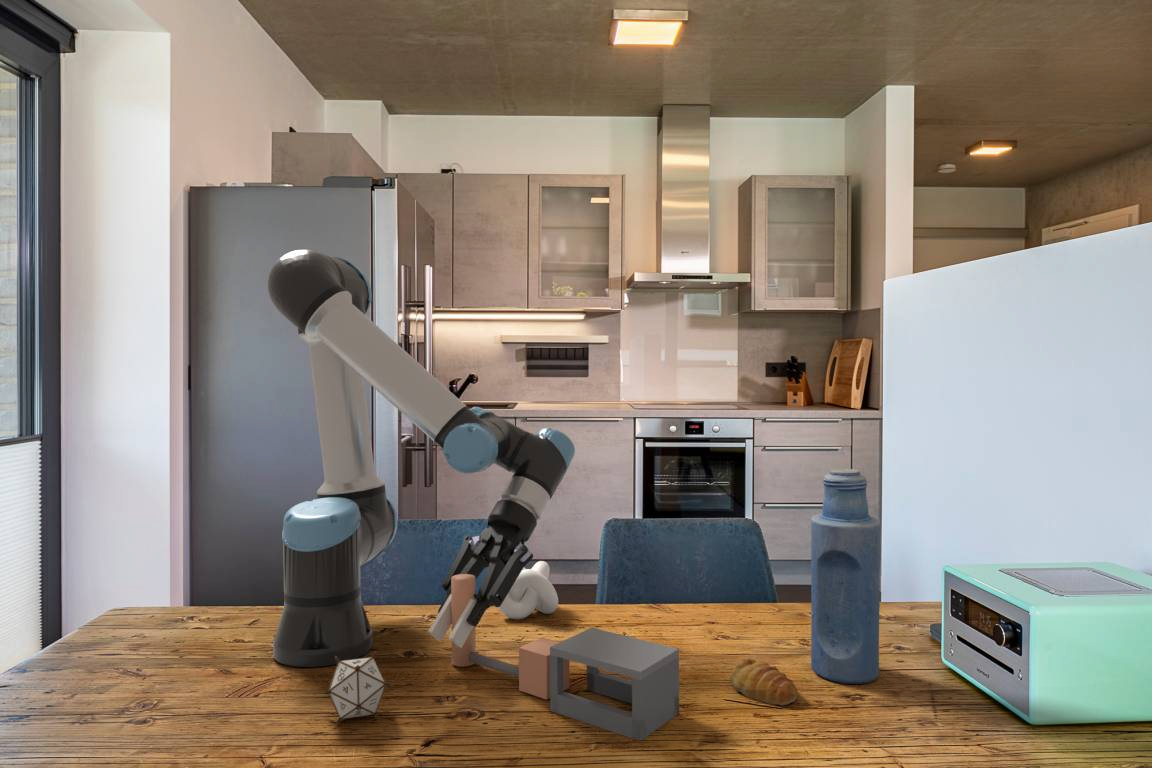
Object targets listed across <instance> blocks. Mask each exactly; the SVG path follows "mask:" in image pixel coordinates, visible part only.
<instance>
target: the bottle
mask: <svg viewBox="0 0 1152 768" xmlns="http://www.w3.org/2000/svg"><path fill="white" fill-rule="evenodd" d="M822 481H823V501H822V510H821V511H822V512H820V513H818V514H815V515H813V516H811V519H810V521H811V523H810V528H811V529H810V531H811V533H810V534H811V535H810V562H811V563H810V566H811V567H810V568H811V569H810V570H811V571H810V578H811V582H810V583H811V586H810V587H811V590H810V591H811V592H810V593H811V597H810V598H811V600H810V601H811V603H810V604H811V609H810V610H811V612H810V614H811V615H810V616H811V618H810V619H811V620H810V621H811V622H810V623H811V633H810V634H811V635H810V640H811V641H810V642H811V644H810V647H811V648H810V658H811V659H810V667H811V668H810V669H812V671H813V673H815V674H816V675H817V676H819V677H821V678H823V679H825V680H828V681H830V682H835V683H839V684H845V685H851V684H853V685H863V684H868V683H871V682H874V681H875V680H877V678H879V675H880V608H881V604H880V603H881V602H880V596H881V595H880V594H881V592H880V591H881V590H880V586H881V585H880V584H881V581H880V580H881V578H880V576H881V521H880V520H879V519H878V518H876V517H874V516H871V515H870V514H869V504H868V503H869V502H868V500H867V499H868V498H867V487H868V481H867V478H866V476H864V475H862V474H861V472H860V470H859V469H854V468H852V469H850V468H836V469H830V470H829V473H828V474H825V475H824V477H823V480H822Z"/></svg>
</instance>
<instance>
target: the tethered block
mask: <svg viewBox="0 0 1152 768" xmlns="http://www.w3.org/2000/svg"><path fill="white" fill-rule="evenodd" d="M474 594H476V580H475V576H474V575H471V574H459V575H455V576H452V577H451V615H452V624H451V632H452V631H453V629H454V627H455V625H456V624H457V622H458V620H459V618H460V617H461V615H462V613H463V611H464V610H465V608H466V606H467V604H468V603H469V601H470V599H473V600H475V601H476V599H475V598H474ZM476 632H477V631H476V627H475V626H473V628H472V630H471V632H470V634H469V635H468V637H467V639H466V641H465V643H464V645H463V646H462V648H460V647H458V646H456V645H455V644H454V643H453V642H452V641H451V665H453V666H455V667H461V668H463V667H469V666H473V665H474V664H477V665H479V666H483V667H485V668H488V669H489V668H490V669H491V670H494V671H498V672H501V673H504V674H507V675H510V676H513V677H517V678H518V691H520V692H523V693H526V694H529V695H532V696H534V697H537V698H540V699H543V700H546V701H547V700H548V699H550V647H551V646H553V645H556V644H558V643H560V642H561V641H560V642H559V641H555V640H553V639H552V640H551V639H548V638H544V637H540V638H537V639H535V640H533V641H531V642H529V643H526V644H525V645H522V646H520V647H518V665H514V664H512V663H509V662H505V661H504V660H503V661H502V660H500V659H496V658H494V657H490V656H487V655H484V654H482V653H481V654H480V653H477V652H476V651H477V650H476V643H477V642H476ZM569 688H570V660H567V659H564V658H563V692H565V691H566V690H567V689H569Z"/></svg>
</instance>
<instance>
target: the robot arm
mask: <svg viewBox="0 0 1152 768" xmlns="http://www.w3.org/2000/svg"><path fill="white" fill-rule="evenodd" d="M267 290H268V295H269V297H270V299H271V302H272V304H273V305H274V306H275V308H276V309H277V310H278V312H279V313H280V314H281V315H283V316H284V317H285V318H286V319H287V320H288V321H289V322H290V323H292V324H293V325H294V326H295V327H296V328H297V333H298V334H297V335H298V337H299V339H301V340H302V341H303V342H305V343H307V345H308V349H309V350H308V351H309V356H310V358H309V359H310V366H311V367H310V368H311V374H312V375H311V376H312V383H313V390H314V391H313V392H314V401H315V408H316V417H317V426H318V436H319V443H320V452H321V459H322V468H323V477H324V480H323V481H324V482H323V483H322V484H321V486H320V487H319V488H318V489H317V491H316V496H317V498H316V499H315V498H314V499H312V500H310V501H309V500H306V501H303V502H300V503H298V504H295V505H294V506H292V507H291V508H290V509H288V510H287V511H286V513H285V514H284V516H283V525H282V532H281V539H282V554H283V555H282V556H283V557H282V558H283V562H282V563H283V565H282V566H283V592H284V594H283V598H284V599H283V600H284V601H283V602H284V603H283V604H284V605H283V609H282V612H281V616H280V619H279V621H278V625H277V628H276V632H275V635H274V637H273V641H272V654H273V655H272V656H273V660H275V661H276V662H277V663H279V664H283V665H286V666H290V667H296V668H297V667H298V668H317V667H328V666H333V665H337V663H338V662H337V661H336V660H335V656H337V657H338V658H339V660H340V661H341V660H349V659H358V658H361V657H362V656H364V655H365V654H367V653H368V652H369V651H370V650H371V649H372V647H373V630H372V627H371V624H370V621H369V618H368V616H367V613H366V611H365V606H364V605H363V602H362V598H361V595H362V594H361V567H362V566H363V565H364V564H366V563H367V562H369V561H371V560H373V559H375V558H377V557H378V556H380V555H381V554H382V553H383V552H384V551H385V550H386V549H387V548H388V547H389V545H390V544H391V543H392V541H393V540H394V538H395V536H396V533H397V530H398V522H399V521H398V514H397V513H398V512H397V511H396V508H395V506H394V504H393V502H392V501H391V500H390V499H389V498H388V497H387V492H386V484H385V481H384V480H383V479H381V478H380V477H379V476H377V474H376V473H375V464H374V455H373V447H372V440H371V437H372V436H371V430H370V423H369V421H370V419H369V414H368V413H369V412H368V405H367V403H368V402H367V395H366V387H365V382H367V383H368V384H369V385H370V386H371V387H373V388H374V389H375V391H377V392H378V393H380V395H382V397H383V398H385V399H386V401H387V402H388V401H389V403H390V404H392V406H394V407H395V408H396V409H397V410H398V411H399V412H401V414H403V415H404V416H405V417H406V418H407V419H408V420H409V421H410V422H411V423H413V424H414V425H415V426H416V427H417V428H418V429H419V430H420V431H422V432H423V433H424V434H425V435H426V436H427V437H428V438H429V439H431V441H433V443H435V444H436V445H437V446H438V447H439V448H440V449H441V450H442V451H443V454H444V459H445V460H446V462H447V464H448V465H449V466H450V467H451V468H452V469H454V470H455V471H457V472H459V473H463V474H475V473H481V472H483V471H485V470H487V469H488V468H490V467H491V466H492V465H493V464H494V465H495V466H496V465H497V466H498V467H500V468H502V469H503V470H505V471H507V472H508V473H511V474H513V475H512V477H511V478H510V480H509V481H508V483H507V484H506V486H505V488H504V490H502V492H501V494H500V496H499V500H498V501H496V503H495V505H494V506H493V508H492V510H491V512H490V513H489V515H488V516H487V526H486V527H485V528H484V529H483V530H482V531H481V532H480V534H479V535H476V536H471V535H470V534H466V535H464V537H463V540H462V545H461V548H460V550H459V551H458V553H457V555H456V557H455V559H454V560H453V562H452V564H451V566H450V568H449V570H448V572H447V574H446V575H445V577H444V579H443V580H442V582H441V584H440V585H441V588H442V589H443V590H444V591H445V592H446V596H445V597H444V600H443V601H442V603H441V605H440V607H439V608H438V609H437V610H438V611H437V616H436V617H435V619H434V621H433V622H432V624H431V627H429V629H428V633H429V634H430V635H431V636H432V637H433V638H434V639H435V640H436V641H438V642H442V641H443V639H444V638H445V636H446V634H447V633H448V630H449V629H450V627H452V615H451V577H452V576H455V575H459V574H471V575H474V576H475V581H476V580H477V578H478V577H479V576H480V575H481V574H482V572H483V571H484V570H485V569H486V568H487V569H486V572H485V575H484V577H483V580H482V582H481V585H480V587H479V590H478V591H477V593H475V594H474V598H475V600H473V599H470V601H469V603H468V604H467V606H466V608H465V610H464V611H463V613H462V615H461V617H460V618H459V620H458V622H457V624H456V625H455V627H454V629H453V631H452V630H451V632H450V634H449V636H448V639H449V640H450V641H451V643H452V642H453V643H454V644H455V645H456V646H458V647H460V648H462V646H463V645H464V643H465V641H466V639H467V637H468V635H469V634H470V632H471V630H472V628H473V626H475V628H476V627H477V626H478V625H479V623H480V621H481V620H482V618H483V615H484V614H485V612H486V611H487V610H488V609H490V608H491V607H495V608H498V607H500V606H501V604H502V603H503V601H504V599H505V598H506V596H507V594H508V593H509V591H510V589H511V588H512V586H513V584H514V583H515V581H516V579H517V578H518V576H519V574H520V573H521V571H522V569H523V568H525V566H526V565H527V564H528V563H529V562H530V561H531V560H532V559H533V558H534V554H533V553H532V552H531V550H530V549H529V547H527V545H525V543H527V542H528V541H529V540H530V537H532V535H533V533H534V531H535V529H536V527H537V525H538V521H539V520H540V519H541V517H542V515H543V514H544V512H545V510H546V508H547V506H548V505H549V503H550V501H551V499H552V498H553V496H554V494H555V492H556V490H557V489H558V487H559V486H560V484H561V481H562V480H563V478H564V477H565V475H566V473H567V471H568V470H569V467H570V465H571V462H572V460H573V458H574V456H575V453H576V448H575V444H574V443H573V441H572V439H571V438H569V436H568V435H567V434H565V433H564V432H562V431H560V430H558V429H552V428H550V427H544V428H541V429H540V430H539V431H538V432H537V433H535V434H533V433H531V432H529V431H526V430H525V429H523V428H521V427H519V426H517V425H515V424H513V423H511V422H510V421H508V420H506V419H504V418H502V417H500V416H499V415H497V414H495V413H494V412H493V411H488V410H487V409H484V408H482V407H479V406H473V407H472V408H469V407H468V405H466V403H464V402H463V401H462V400H461V399H460V398H458V397H457V396H456V395H455V394H454V393H453V392H451V390H449V389H448V388H447V386H445V385H444V384H443V383H442V382H440V381H439V380H438V379H437V378H436V377H435V376H434V375H433V374H432V373H430V372H429V371H428V370H427V369H426V368H425V367H424V366H423V365H422V364H421V363H419V362H418V361H417V360H416V359H415V358H414V357H412V356H411V355H410V353H408V352H407V351H406V350H405V349H404V348H402V347H401V346H400V345H399V344H398V343H397V342H396V341H395V340H394V339H392V337H391V336H389V335H388V334H387V333H385V331H383V330H382V329H381V328H380V327H379V326H378V325H377V324H375V322H374V321H372V320H371V319H370V318H369V317H368V316H367V315H366V314H367V313H368V311H369V309H370V308H371V304H372V300H373V299H372V297H373V296H372V295H373V293H372V287H371V284H370V281H369V279H368V278H367V276H366V275H365V273H364V272H363V271H362V270H361V269H360V268H359V267H357V266H356V265H354V264H353V263H352V262H350V261H349V260H346V259H344V258H341V257H337V256H331V255H329V254H328V255H327V254H324V253H322V252H318V251H316V250H312V249H297V250H293V251H290V252H288V253H285V254H284V255H282V256H281V257H280V258H278V259H277V261H275V263H274V264H273V266H272V268H271V269H270V272H269V274H268V278H267ZM496 595H498V596H496Z"/></svg>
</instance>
